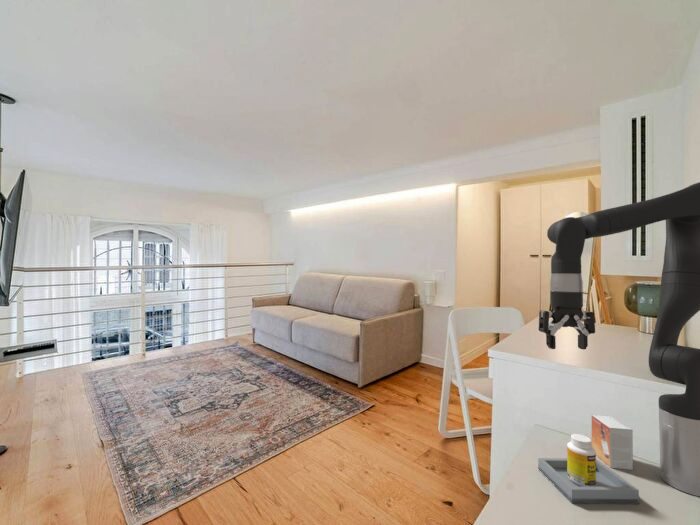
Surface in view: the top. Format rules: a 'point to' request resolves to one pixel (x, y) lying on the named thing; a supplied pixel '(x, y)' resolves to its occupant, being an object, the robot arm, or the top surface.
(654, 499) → the top surface
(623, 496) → the slate tray
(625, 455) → the small box
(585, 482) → the supplement bottle
